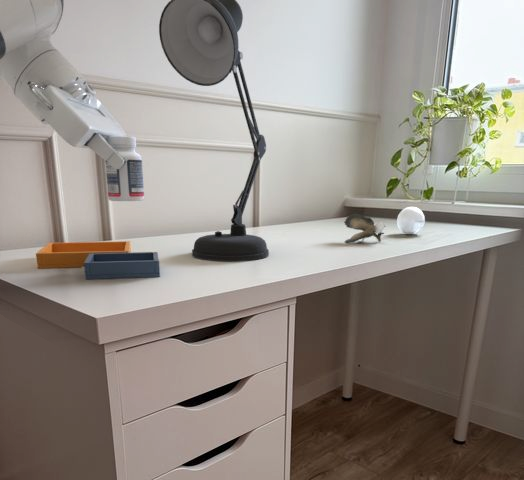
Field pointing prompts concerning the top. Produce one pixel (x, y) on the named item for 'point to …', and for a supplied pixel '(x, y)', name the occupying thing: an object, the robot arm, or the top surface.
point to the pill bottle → (125, 171)
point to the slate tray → (121, 265)
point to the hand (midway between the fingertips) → (128, 166)
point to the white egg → (410, 220)
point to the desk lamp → (207, 74)
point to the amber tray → (76, 253)
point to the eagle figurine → (364, 227)
